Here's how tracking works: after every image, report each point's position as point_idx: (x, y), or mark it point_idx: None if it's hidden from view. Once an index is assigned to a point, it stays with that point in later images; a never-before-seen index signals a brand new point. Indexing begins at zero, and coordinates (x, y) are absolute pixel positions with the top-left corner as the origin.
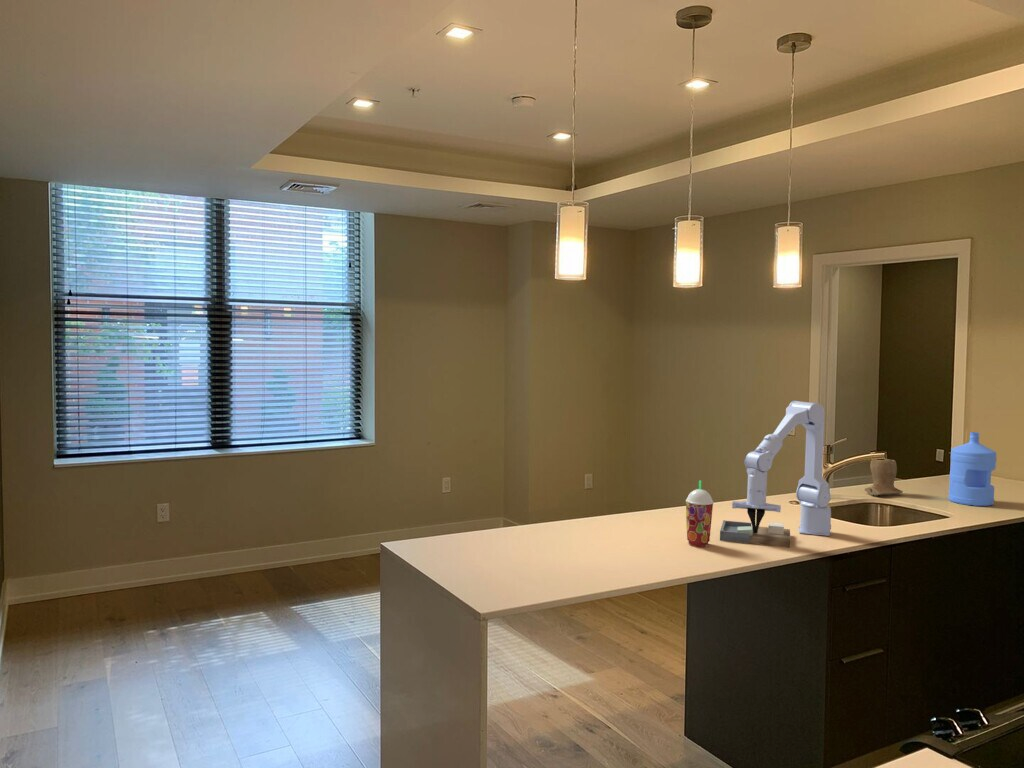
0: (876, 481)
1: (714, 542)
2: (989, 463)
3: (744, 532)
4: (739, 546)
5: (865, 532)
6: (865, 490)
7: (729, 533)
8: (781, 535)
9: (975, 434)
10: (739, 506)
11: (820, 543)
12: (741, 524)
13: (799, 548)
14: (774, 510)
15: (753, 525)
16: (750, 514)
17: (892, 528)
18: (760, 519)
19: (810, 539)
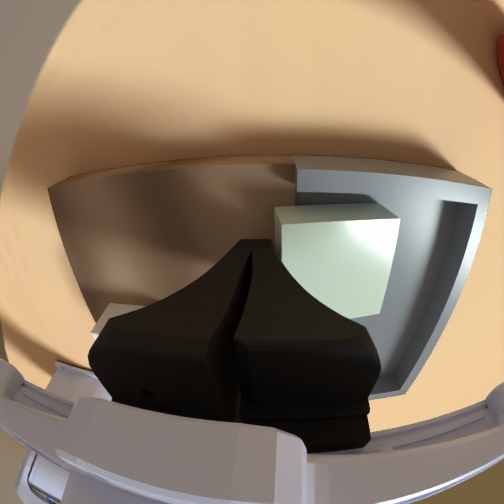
0: None
1: (479, 119)
2: None
3: (341, 212)
4: (352, 53)
5: (42, 386)
6: None
7: (441, 177)
8: (111, 284)
9: (47, 498)
10: (459, 432)
11: (31, 288)
12: None
13: (42, 180)
14: (35, 394)
15: (269, 261)
16: (324, 326)
17: None
18: (177, 295)
19: (68, 327)
